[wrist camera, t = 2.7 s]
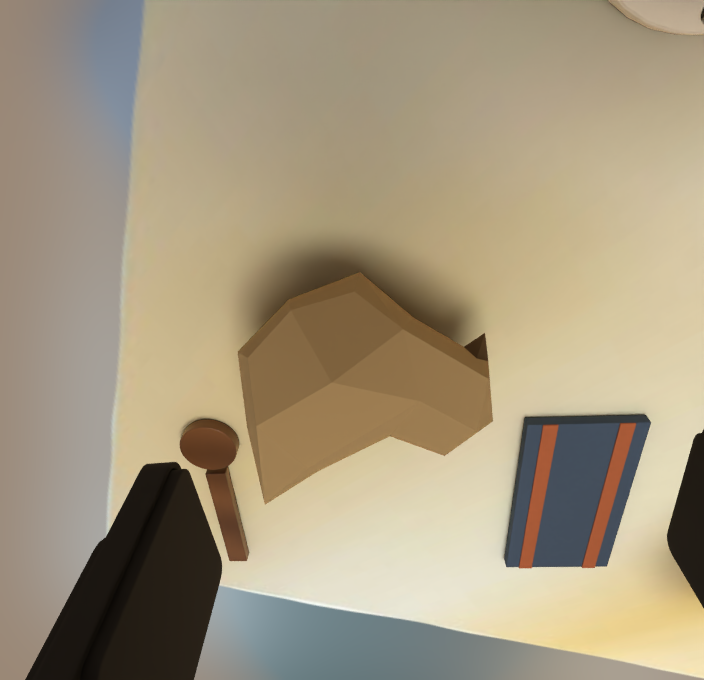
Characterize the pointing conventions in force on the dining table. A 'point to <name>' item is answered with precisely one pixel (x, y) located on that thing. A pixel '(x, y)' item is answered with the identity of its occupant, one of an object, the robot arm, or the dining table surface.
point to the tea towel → (572, 489)
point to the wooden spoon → (218, 477)
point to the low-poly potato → (354, 382)
